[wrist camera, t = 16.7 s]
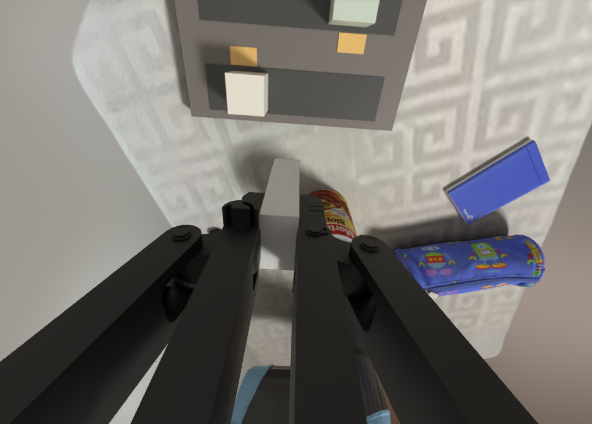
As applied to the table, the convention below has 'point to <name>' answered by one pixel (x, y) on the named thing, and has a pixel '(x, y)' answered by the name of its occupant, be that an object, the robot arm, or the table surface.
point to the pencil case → (474, 264)
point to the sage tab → (353, 12)
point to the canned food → (336, 214)
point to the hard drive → (499, 182)
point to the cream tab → (247, 93)
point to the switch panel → (299, 59)
